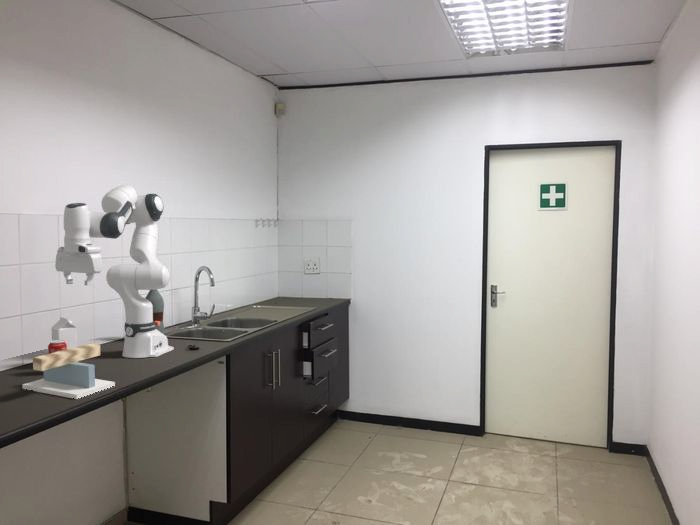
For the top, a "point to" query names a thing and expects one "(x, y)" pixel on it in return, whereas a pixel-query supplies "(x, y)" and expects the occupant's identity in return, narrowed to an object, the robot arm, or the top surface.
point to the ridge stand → (69, 381)
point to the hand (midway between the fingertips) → (78, 284)
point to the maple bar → (65, 357)
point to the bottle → (157, 308)
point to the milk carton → (65, 332)
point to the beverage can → (56, 346)
